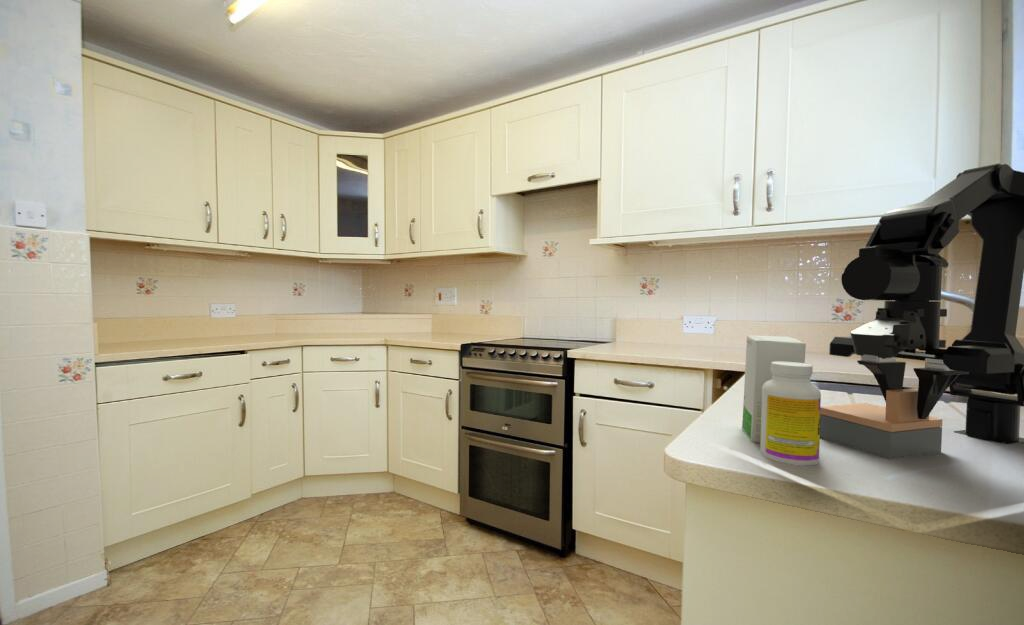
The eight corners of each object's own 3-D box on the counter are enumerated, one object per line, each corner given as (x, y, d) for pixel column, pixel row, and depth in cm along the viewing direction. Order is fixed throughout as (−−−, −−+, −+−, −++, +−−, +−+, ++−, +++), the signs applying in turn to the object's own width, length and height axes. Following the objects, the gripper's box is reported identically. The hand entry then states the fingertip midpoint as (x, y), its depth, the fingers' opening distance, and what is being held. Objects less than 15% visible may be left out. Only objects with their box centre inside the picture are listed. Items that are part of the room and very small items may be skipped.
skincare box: (741, 430, 74) (744, 334, 73) (787, 434, 72) (791, 336, 71) (751, 446, 66) (754, 338, 65) (803, 451, 64) (807, 340, 63)
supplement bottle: (828, 472, 56) (832, 368, 56) (770, 467, 57) (773, 366, 57) (805, 454, 63) (808, 361, 62) (753, 450, 64) (755, 359, 64)
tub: (865, 435, 72) (866, 409, 72) (940, 456, 62) (942, 427, 62) (817, 440, 69) (818, 414, 69) (889, 463, 59) (890, 432, 59)
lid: (866, 409, 72) (867, 377, 72) (942, 426, 62) (943, 390, 62) (818, 413, 69) (819, 380, 69) (890, 432, 59) (892, 394, 59)
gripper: (803, 300, 68) (800, 403, 68) (957, 301, 50) (952, 441, 51) (857, 300, 71) (854, 399, 72) (1020, 302, 53) (1014, 433, 54)
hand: (907, 415), depth 62 cm, fingers open, 3 cm apart
